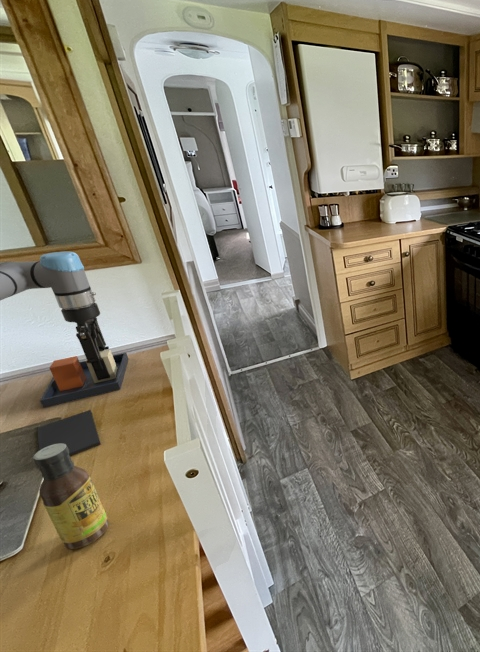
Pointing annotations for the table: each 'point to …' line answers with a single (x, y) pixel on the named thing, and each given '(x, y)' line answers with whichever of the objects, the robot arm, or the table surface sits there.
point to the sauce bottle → (70, 498)
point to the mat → (70, 433)
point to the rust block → (68, 373)
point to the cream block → (109, 364)
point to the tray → (85, 385)
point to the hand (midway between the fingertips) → (105, 373)
